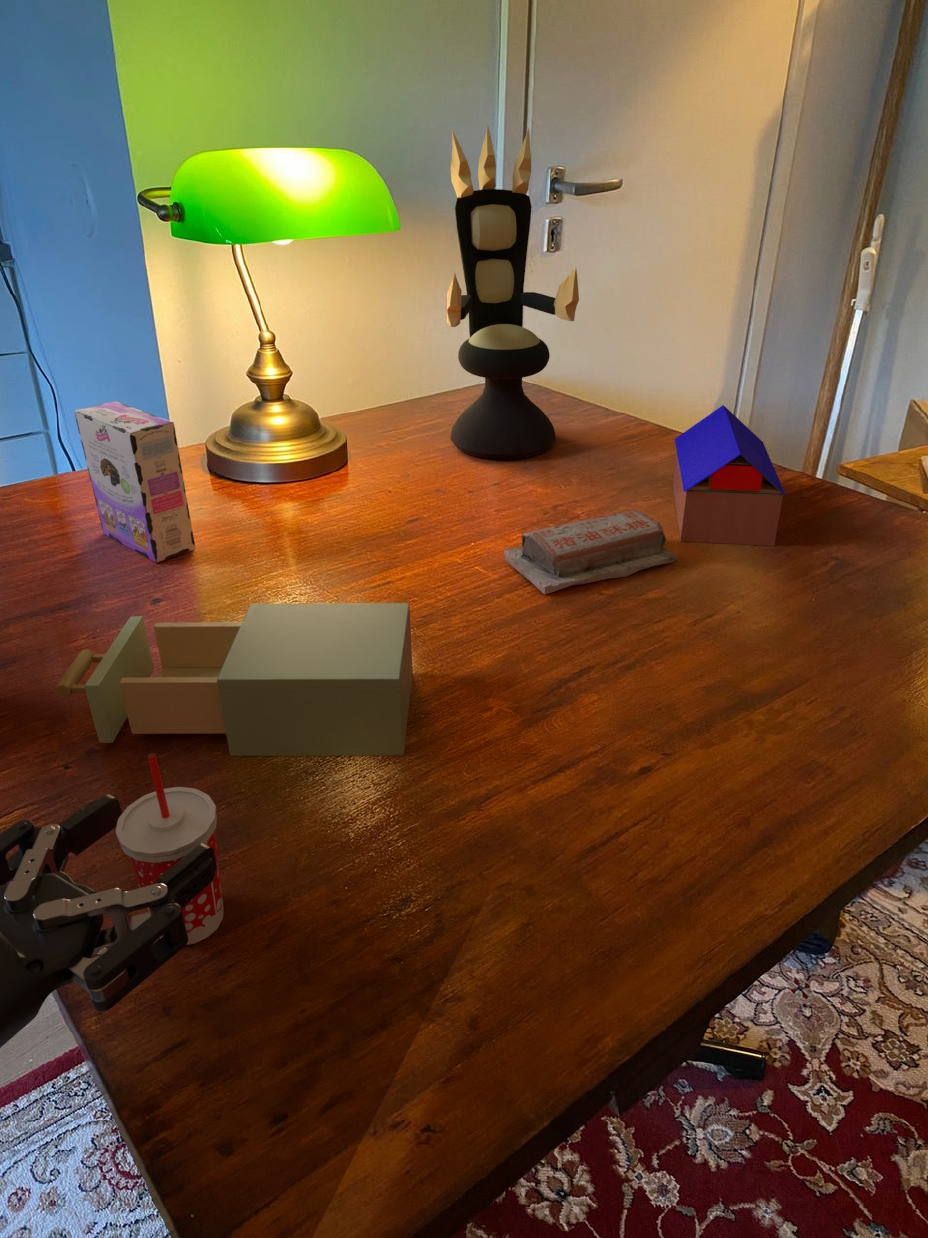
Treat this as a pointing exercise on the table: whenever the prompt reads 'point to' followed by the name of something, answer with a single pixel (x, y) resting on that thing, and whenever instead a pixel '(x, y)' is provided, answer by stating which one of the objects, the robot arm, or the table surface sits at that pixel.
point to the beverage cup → (173, 845)
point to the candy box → (136, 479)
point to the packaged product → (590, 550)
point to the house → (725, 484)
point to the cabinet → (318, 680)
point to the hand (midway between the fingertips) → (162, 830)
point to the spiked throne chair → (500, 309)
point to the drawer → (155, 679)
